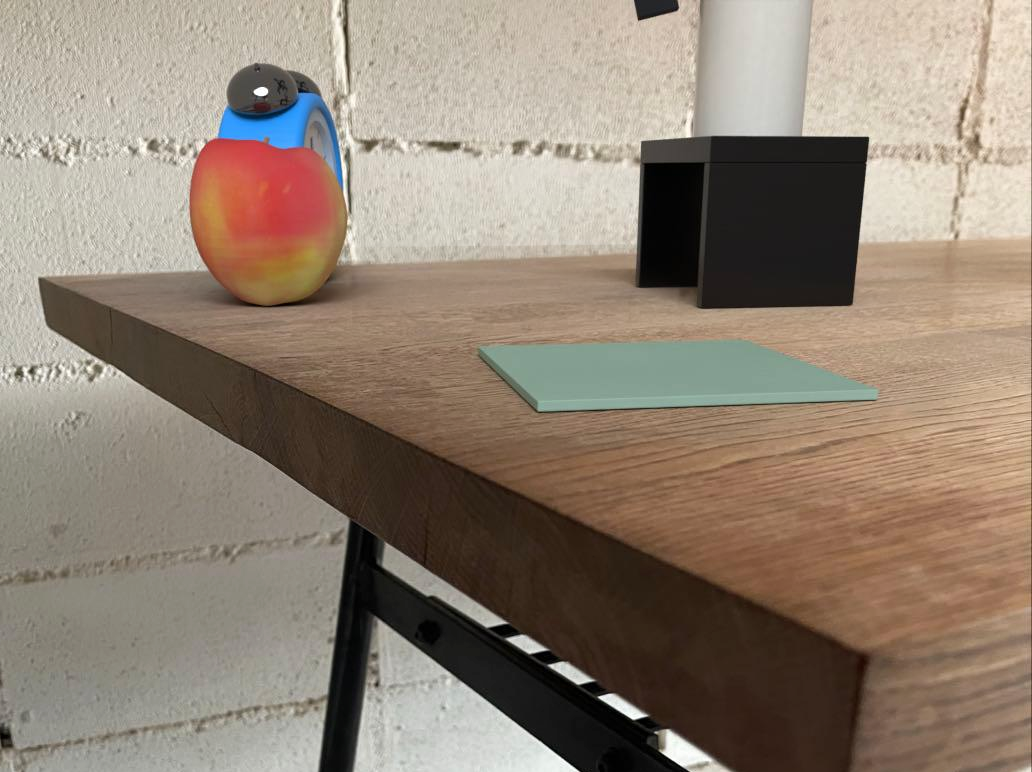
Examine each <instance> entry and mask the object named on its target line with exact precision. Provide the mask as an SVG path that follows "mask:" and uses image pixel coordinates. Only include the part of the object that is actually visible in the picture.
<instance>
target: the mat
mask: <svg viewBox="0 0 1032 772" xmlns="http://www.w3.org/2000/svg"><path fill="white" fill-rule="evenodd" d="M477 355H478V356H479V357H480V358H481V359H482V360H483V361H484V362H485V363H486V364H487V365H488V366H490V367H491V368H492V369H493V370H494V372H496V373H497V374H498V375H499V376H500V377H501V378H502V379H503V380H504V381H505V382H506V383H507V384H508V385H509V386H510V387H511V388H512V389H513V390H514V391H516V392H517V393H518V395H520V396H521V397H522V398H523V399H524V401H526V402H527V403H528V404H529V405H530V406H531V407H532V408H533V409H534V410H536V412H538V413H545V412H573V411H599V410H601V411H602V410H628V409H629V410H631V409H655V408H684V407H685V408H686V407H687V408H688V407H711V406H712V407H714V406H740V405H741V406H742V405H765V404H767V405H768V404H769V405H770V404H771V405H772V404H794V403H795V404H796V403H799V404H800V403H824V402H850V401H851V402H853V401H854V402H855V401H876V400H878V399H879V392H880V389H878V388H876V387H873V386H870V385H868V384H866V383H863V382H860V381H857V380H854V379H851V378H849V377H846V376H844V375H841V374H839V373H836V372H833V371H830V370H827V369H825V368H823V367H820V366H817V365H814V364H811V363H809V362H807V361H804V360H801V359H799V358H796V357H793V356H791V355H787V354H785V353H782V352H779V351H776V350H774V349H772V348H769V347H765V346H763V345H760V344H758V343H755V342H752V341H750V340H747V339H744V338H743V339H712V340H711V339H710V340H709V339H707V340H706V339H705V340H673V341H672V340H670V341H667V340H666V341H634V342H633V341H631V342H629V341H628V342H597V343H595V342H593V343H589V342H588V343H556V344H555V343H554V344H552V343H551V344H550V343H549V344H518V345H517V344H515V345H513V344H511V345H479V346H477Z"/></svg>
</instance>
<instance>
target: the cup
mask: <svg viewBox="0 0 1032 772" xmlns="http://www.w3.org/2000/svg"><path fill="white" fill-rule="evenodd" d="M698 3H699V4H698V20H697V21H698V23H697V24H698V25H697V42H696V57H695V58H696V60H695V62H696V63H695V77H694V78H695V81H694V98H693V99H694V100H693V116H692V135H691V137H702V136H803V131H804V119H805V118H804V117H805V105H806V94H807V81H808V70H809V69H808V68H809V57H810V46H811V32H812V23H813V22H812V21H813V8H814V0H699V2H698Z"/></svg>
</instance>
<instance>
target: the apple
mask: <svg viewBox="0 0 1032 772" xmlns="http://www.w3.org/2000/svg"><path fill="white" fill-rule="evenodd" d="M269 139H270V138H269V137H266V136H265V139H264V142H262V141H258V140H236V139H227V138H218V137H217V138H213V139H210V140H209V141H207V143H205V144H204V145H203V146H202V148H201V150H200V151H199V153H198V155H197V158H196V160H195V163H194V166H193V170H192V175H191V179H190V187H189V199H188V200H189V203H188V204H189V206H188V207H189V208H188V209H189V220H190V227H191V233H192V237H193V241H194V244H195V247H196V249H197V252H198V254H199V256H200V258H201V260H202V262H203V264H204V265H205V267H206V269H208V271H209V272H210V274H211V275H212V276H213V278H214V279H215V280H216V281H217V282H218V283H219V284H220V285H221V286H222V287H223V288H224V289H225V290H226V291H228V292H229V293H230V294H231V295H233V296H234V297H236V298H238V299H239V300H241V301H244V302H246V303H249V304H253V305H259V306H264V307H271V306H276V305H282V304H288V303H295V302H298V301H302V300H304V299H306V298H308V297H309V296H311V295H313V294H314V293H315V292H317V291H318V290H319V289H320V288H321V287H323V285H324V284H325V283H326V281H327V280H328V279H329V277H330V276H331V275H332V272H333V271H334V269H335V267H336V265H337V264H338V261H339V258H340V256H341V253H342V251H343V247H344V245H345V240H346V237H347V231H348V208H347V202H346V198H345V195H344V191H343V192H342V189H341V186H340V184H339V182H338V180H337V178H336V176H335V174H334V173H333V171H332V169H331V168H330V167H329V165H328V164H327V162H326V161H325V160H324V159H323V158H322V157H321V156H320V155H319V154H318V153H317V152H315V151H314V150H312V149H310V148H306V147H292V148H286V149H284V148H277V147H275V146H272V145H270V144H268V142H269Z"/></svg>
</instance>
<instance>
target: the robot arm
mask: <svg viewBox="0 0 1032 772" xmlns="http://www.w3.org/2000/svg"><path fill="white" fill-rule="evenodd" d="M633 3H634V9H635V13H636V18H637V22H640V21H644V20H649V19H652V18H656V17H659V16H660V17H661V16H664V15H667V14H672V13H676V12H678V11H679V9H680V6H679V0H633Z"/></svg>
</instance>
